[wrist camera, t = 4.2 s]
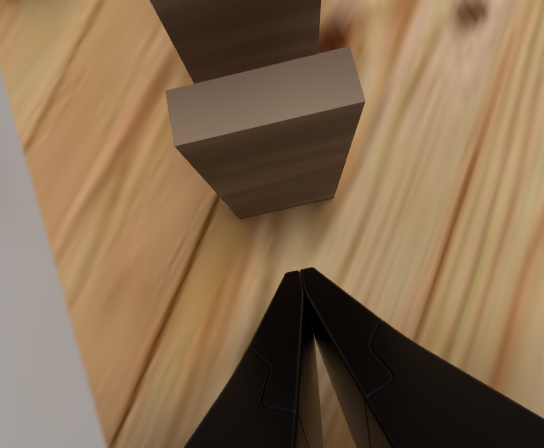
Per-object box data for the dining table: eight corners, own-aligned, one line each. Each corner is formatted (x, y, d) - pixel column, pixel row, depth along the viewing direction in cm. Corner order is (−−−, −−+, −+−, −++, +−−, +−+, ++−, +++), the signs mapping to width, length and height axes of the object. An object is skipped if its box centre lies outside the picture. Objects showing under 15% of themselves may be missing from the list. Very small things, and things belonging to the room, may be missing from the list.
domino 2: (333, 197, 19) (364, 101, 9) (239, 219, 19) (174, 145, 10) (326, 169, 19) (349, 46, 10) (233, 190, 20) (165, 91, 10)
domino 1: (314, 119, 20) (323, -46, 10) (224, 140, 20) (149, -1, 10) (307, 92, 20) (310, -92, 11) (219, 113, 21) (141, -48, 11)
